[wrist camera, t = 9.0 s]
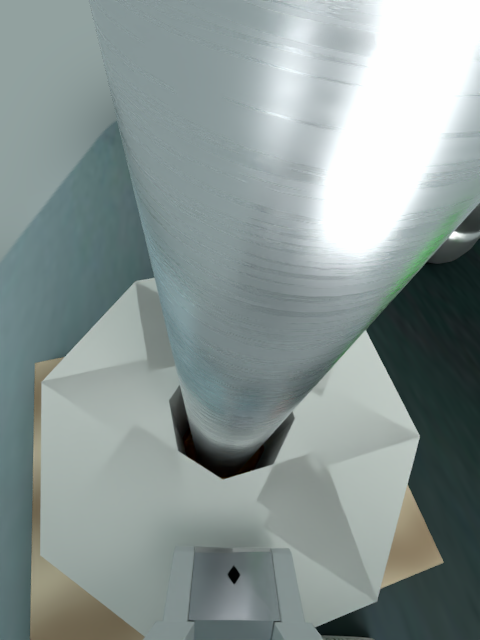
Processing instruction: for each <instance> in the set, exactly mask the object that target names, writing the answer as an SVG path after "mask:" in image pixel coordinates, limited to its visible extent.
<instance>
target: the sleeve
mask: <svg viewBox="0 0 480 640" xmlns="http://www.w3.org/2000/svg"><path fill="white" fill-rule="evenodd" d="M189 427H190V426H189V421H188V417H187V413H186V409H185V405H184V400H183V396H182V392H181V388H180V383H179V379H178V375H177V371H176V366H175V362H174V358H173V354H172V350H171V345H170V341H169V337H168V333H167V328H166V324H165V320H164V316H163V311H162V307H161V303H160V299H159V295H158V290H157V286H156V282H155V278H151V279H145V280H139V281H135V282H134V283H133V284H132V285H131V287H130V288H129V289H128V290H127V291H126V292H125V293H124V294H123V295H122V296H121V297H120V298H119V299H118V300H117V302H116V303H115V304H114V305H113V306H112V307H111V308H110V309H109V310H108V311H107V312H106V313H105V314H104V315H103V317H102V318H101V319H100V320H99V321H98V322H97V323H96V324H95V325H94V326H93V327H92V328H91V329H90V330H89V332H88V333H87V334H86V335H85V336H84V337H83V338H82V339H81V340H80V341H79V342H78V343H77V344H76V345H75V347H74V348H73V349H72V350H71V351H70V352H69V353H68V354H67V355H66V356H65V357H64V358H63V359H62V360H61V362H60V363H59V364H58V365H57V366H56V367H55V368H54V369H53V370H52V371H51V372H50V373H49V374H48V375H47V377H46V378H45V379H44V380H43V381H42V382H41V507H40V556H42V557H43V558H44V559H46V560H47V561H48V562H49V563H51V564H52V565H53V566H55V567H56V568H57V569H58V570H60V571H61V572H62V573H64V574H65V575H66V576H67V577H69V578H70V579H71V580H73V581H74V582H75V583H76V584H78V585H79V586H80V587H81V588H83V589H84V590H85V591H87V592H88V593H89V594H90V595H92V596H93V597H94V598H96V599H97V600H98V601H99V602H101V603H102V604H103V605H105V606H106V607H107V608H108V609H110V610H111V611H112V612H114V613H115V614H116V615H117V616H119V617H120V618H121V619H123V620H124V621H125V622H126V623H128V624H129V625H130V626H132V627H133V628H134V629H135V630H137V631H138V632H139V633H141V634H142V635H143V636H144V637H145V636H146V635H147V633H148V632H149V630H150V629H151V628H152V626H153V625H154V623H155V622H156V621H163V614H164V608H165V602H166V595H167V589H168V583H169V577H170V570H171V564H172V558H173V552H174V549H175V546H199V547H219V548H232V547H269V548H289V549H290V551H291V553H292V557H293V562H294V567H295V572H296V578H297V583H298V588H299V593H300V598H301V603H302V608H303V614H304V619H305V622H308V623H312V624H313V626H314V627H317V626H320V625H322V624H324V623H327V622H329V621H331V620H334V619H336V618H339V617H341V616H343V615H346V614H348V613H351V612H353V611H355V610H358V609H360V608H362V607H365V606H367V605H370V604H372V603H374V602H377V599H378V595H379V591H380V587H381V584H382V580H383V576H384V572H385V568H386V564H387V561H388V557H389V553H390V549H391V545H392V541H393V538H394V534H395V530H396V526H397V522H398V518H399V515H400V511H401V507H402V503H403V499H404V495H405V492H406V488H407V484H408V480H409V476H410V472H411V469H412V465H413V461H414V457H415V453H416V449H417V446H418V442H419V438H420V436H419V434H418V432H417V430H416V428H415V426H414V424H413V422H412V420H411V418H410V416H409V414H408V412H407V410H406V408H405V406H404V404H403V402H402V400H401V398H400V396H399V395H398V393H397V391H396V389H395V387H394V385H393V383H392V381H391V379H390V377H389V375H388V373H387V371H386V369H385V367H384V365H383V363H382V361H381V359H380V357H379V355H378V353H377V351H376V349H375V348H374V346H373V344H372V342H371V340H370V338H369V336H368V334H367V332H366V330H365V331H364V332H363V333H362V334H361V336H360V337H359V338H358V339H357V340H356V341H355V342H354V343H353V345H352V346H351V347H350V348H349V349H348V350H347V351H346V352H345V353H344V355H343V356H342V357H341V358H340V359H339V360H338V361H337V362H336V363H335V365H334V366H333V367H332V368H331V369H330V370H329V371H328V372H327V373H326V375H325V376H324V377H323V378H322V379H321V380H320V381H319V382H318V383H317V385H316V386H315V387H314V388H313V389H312V390H311V391H310V392H309V393H308V395H307V396H306V397H305V398H304V399H303V400H302V401H301V402H300V404H299V405H298V406H297V407H296V408H295V409H294V410H293V411H292V412H291V414H290V415H289V416H288V417H287V418H286V419H285V420H284V421H283V422H282V424H281V425H280V426H279V427H278V428H277V429H276V430H275V431H274V432H273V434H272V435H271V436H270V437H269V438H268V439H267V440H266V441H265V442H264V444H263V446H264V451H263V453H262V455H261V457H260V459H259V461H258V463H257V465H256V467H255V469H254V470H253V471H250V472H246V473H243V474H240V475H236V476H233V477H230V478H226V479H221V478H220V477H218V476H216V475H215V474H213V473H212V472H210V471H209V470H207V469H206V468H204V467H202V466H201V465H199V464H198V463H196V462H195V461H193V460H191V459H190V458H188V457H187V456H186V452H185V446H184V441H183V436H184V435H185V433H186V432H187V430H188V428H189Z"/></svg>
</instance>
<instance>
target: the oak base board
mask: <svg viewBox="0 0 480 640" xmlns="http://www.w3.org/2000/svg"><path fill="white" fill-rule="evenodd" d="M63 358H64V357H62V358H57V359H52V360H47V361H43V362H38V363H35V388H34V445H33V501H32V558H31V615H30V640H143V639H144V638H145V637H144V636H143V635H142V634H141V633H139V632H138V631H137V630H135V629H134V628H133V627H132V626H130V625H129V624H128V623H126V622H125V621H124V620H123V619H121V618H120V617H119V616H117V615H116V614H115V613H114V612H112V611H111V610H110V609H108V608H107V607H106V606H105V605H103V604H102V603H101V602H99V601H98V600H97V599H96V598H94V597H93V596H92V595H90V594H89V593H88V592H87V591H85V590H84V589H83V588H81V587H80V586H79V585H78V584H76V583H75V582H74V581H73V580H71V579H70V578H69V577H67V576H66V575H65V574H64V573H62V572H61V571H60V570H58V569H57V568H56V567H55V566H53V565H52V564H51V563H49V562H48V561H47V560H46V559H44V558H43V557H42V556H40V507H41V382H42V381H43V380H44V379H45V378H46V377H47V375H48V374H49V373H50V372H51V371H52V370H53V369H54V368H55V367H56V366H57V365H58V364H59V363H60V362H61V360H62V359H63ZM441 563H444V562H443V560H442V558H441V556H440V554H439V551H438V549H437V547H436V545H435V543H434V541H433V538H432V536H431V534H430V532H429V530H428V528H427V525H426V523H425V521H424V519H423V517H422V515H421V513H420V510H419V508H418V506H417V504H416V502H415V500H414V497H413V495H412V493H411V491H410V489H409V487H408V484H407V488H406V492H405V495H404V499H403V503H402V507H401V511H400V515H399V518H398V522H397V526H396V530H395V534H394V538H393V541H392V545H391V549H390V553H389V557H388V561H387V564H386V568H385V572H384V576H383V580H382V584H381V587H380V588H383V587H385V586H388V585H390V584H393V583H395V582H397V581H400V580H402V579H405V578H407V577H410V576H412V575H414V574H417V573H419V572H422V571H424V570H427V569H429V568H431V567H434V566H436V565H439V564H441Z"/></svg>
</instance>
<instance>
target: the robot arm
mask: <svg viewBox="0 0 480 640" xmlns="http://www.w3.org/2000/svg"><path fill="white" fill-rule="evenodd" d="M143 640H324V639H323V638H322V637H321V635H320V634H319V632H318V631H317V630H316V628H315V627H314V626H313V624H312V623H308V622H305V619H304V614H303V608H302V603H301V598H300V593H299V588H298V583H297V578H296V572H295V567H294V562H293V557H292V553H291V551H290V549H289V548H269V547H232V548H219V547H199V546H175V549H174V552H173V558H172V564H171V570H170V577H169V583H168V589H167V595H166V602H165V608H164V614H163V621H156V622H155V623H154V625H153V626H152V628H151V629H150V630H149V632H148V633H147V635H146V636H145V638H144V639H143Z"/></svg>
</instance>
